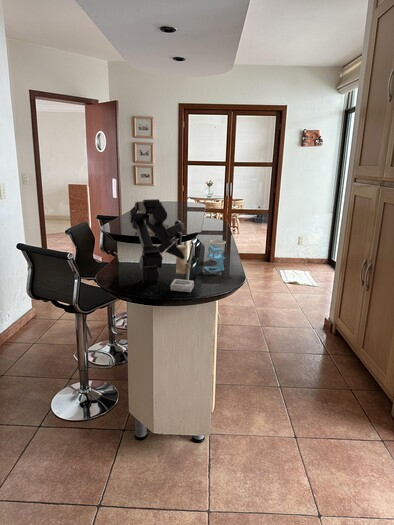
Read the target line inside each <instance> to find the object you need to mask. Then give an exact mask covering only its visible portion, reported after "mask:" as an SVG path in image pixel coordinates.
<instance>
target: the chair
mask: <svg viewBox="0 0 394 525" xmlns="http://www.w3.org/2000/svg"><path fill="white" fill-rule="evenodd" d="M207 250H208V251H207V252H208V253H207V254H206V257H207V258H209V259H210V260H211V261H212V260H216V261H215V262H216V263H217V265H218V266H204V270H205V271H206V272H208V273H209V274H215V273H218V272H222V271H224V272H225V267H224V260H226V257H225V256H224V253H225V249H224V250H222V249H220V248H218V247H216V246H210V245H209V246H208V247H207ZM211 251H212V252H213V255H211ZM219 251H221V252H222V255H220V254H219ZM215 252H217V254H214V253H215Z"/></svg>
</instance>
